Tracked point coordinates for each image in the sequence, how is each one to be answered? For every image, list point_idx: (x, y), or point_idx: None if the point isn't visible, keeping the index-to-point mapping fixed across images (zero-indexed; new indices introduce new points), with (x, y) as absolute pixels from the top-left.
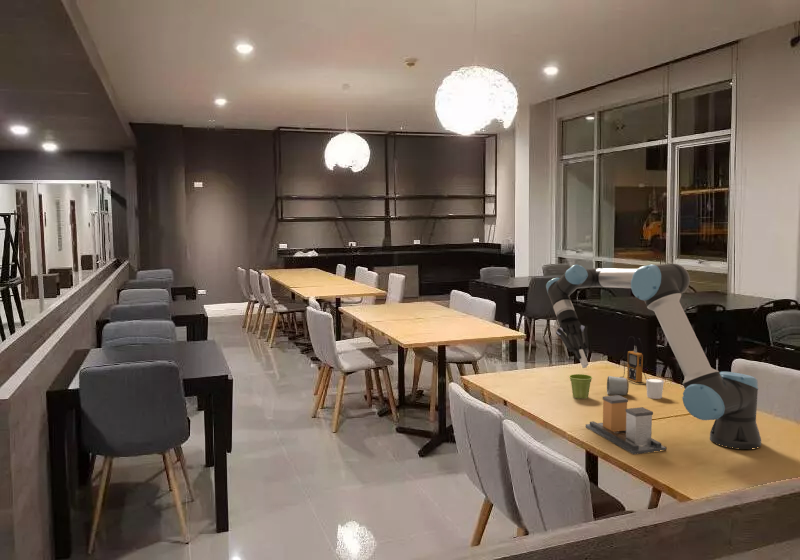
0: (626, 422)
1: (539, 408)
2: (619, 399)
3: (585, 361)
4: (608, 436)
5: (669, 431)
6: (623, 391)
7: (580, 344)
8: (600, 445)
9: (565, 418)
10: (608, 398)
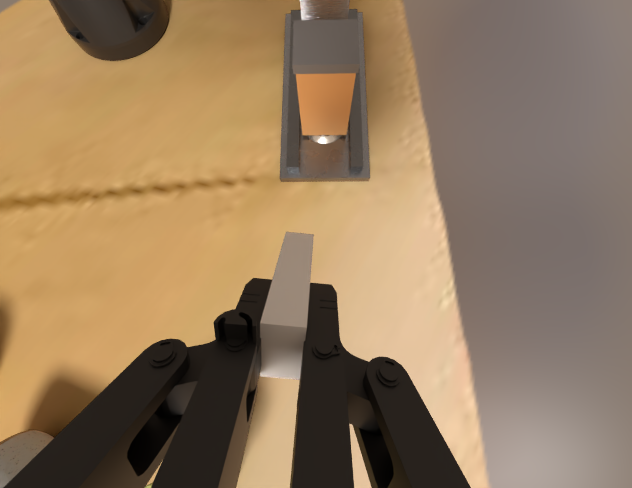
0: (348, 8)
1: (420, 384)
2: (323, 24)
3: (298, 244)
4: (362, 91)
5: (193, 105)
6: (44, 434)
7: (243, 400)
8: (398, 72)
9: (385, 262)
10: (352, 41)
